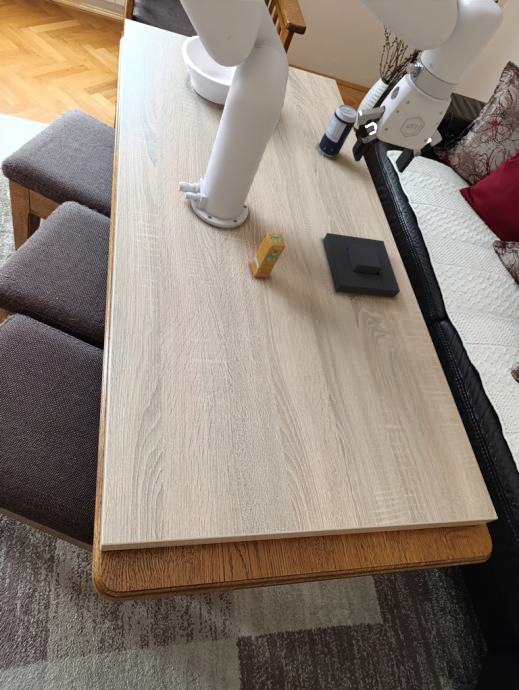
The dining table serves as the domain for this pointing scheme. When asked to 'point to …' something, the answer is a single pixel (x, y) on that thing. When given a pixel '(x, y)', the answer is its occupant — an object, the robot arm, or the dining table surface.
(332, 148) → the beverage can
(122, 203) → the dining table surface
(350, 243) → the socket pad
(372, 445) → the dining table surface
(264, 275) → the supplement box
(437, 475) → the dining table surface
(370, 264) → the black square block
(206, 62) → the bowl
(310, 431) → the dining table surface
